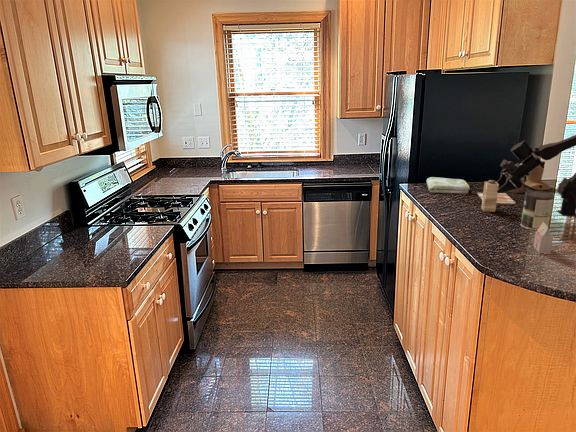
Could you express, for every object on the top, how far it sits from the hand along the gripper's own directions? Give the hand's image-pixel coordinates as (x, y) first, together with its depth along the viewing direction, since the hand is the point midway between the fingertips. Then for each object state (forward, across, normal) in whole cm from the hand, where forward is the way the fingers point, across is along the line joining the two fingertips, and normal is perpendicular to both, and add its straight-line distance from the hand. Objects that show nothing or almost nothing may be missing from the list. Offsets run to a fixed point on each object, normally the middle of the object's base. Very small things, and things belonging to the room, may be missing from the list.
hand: (495, 189), depth 200 cm
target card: (+4, -20, +10) cm, 23 cm away
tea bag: (+1, +48, +13) cm, 50 cm away
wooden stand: (-14, -48, +28) cm, 57 cm away
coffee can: (-2, +21, +16) cm, 26 cm away
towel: (+20, -37, -5) cm, 42 cm away
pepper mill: (+8, 0, +6) cm, 10 cm away
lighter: (-5, -37, +19) cm, 42 cm away
